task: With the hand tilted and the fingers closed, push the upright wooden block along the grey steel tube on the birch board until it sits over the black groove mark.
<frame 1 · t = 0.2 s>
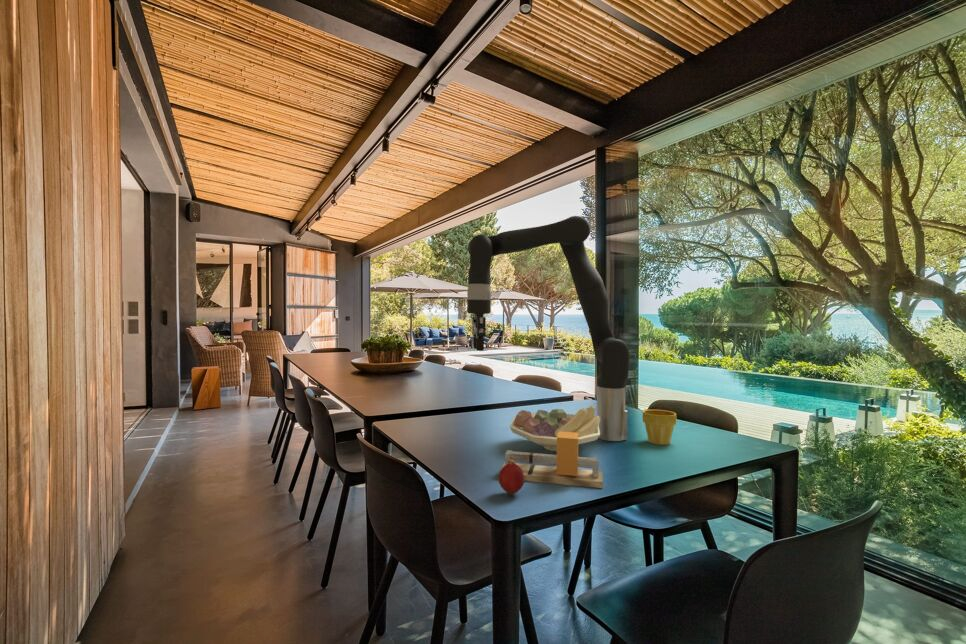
hand: (478, 349, 147), 29 cm above the table, tool pointing down, fingers open, 8 cm apart
onion: (511, 495, 104), on the table
upright wooden block: (567, 453, 115), point 6 cm above the table, slide at 0.0 cm
pipe: (551, 463, 116), on the board, point 4 cm above the table
dish with food: (554, 448, 142), on the table
board: (551, 477, 116), on the table
plant pot: (658, 442, 150), on the table
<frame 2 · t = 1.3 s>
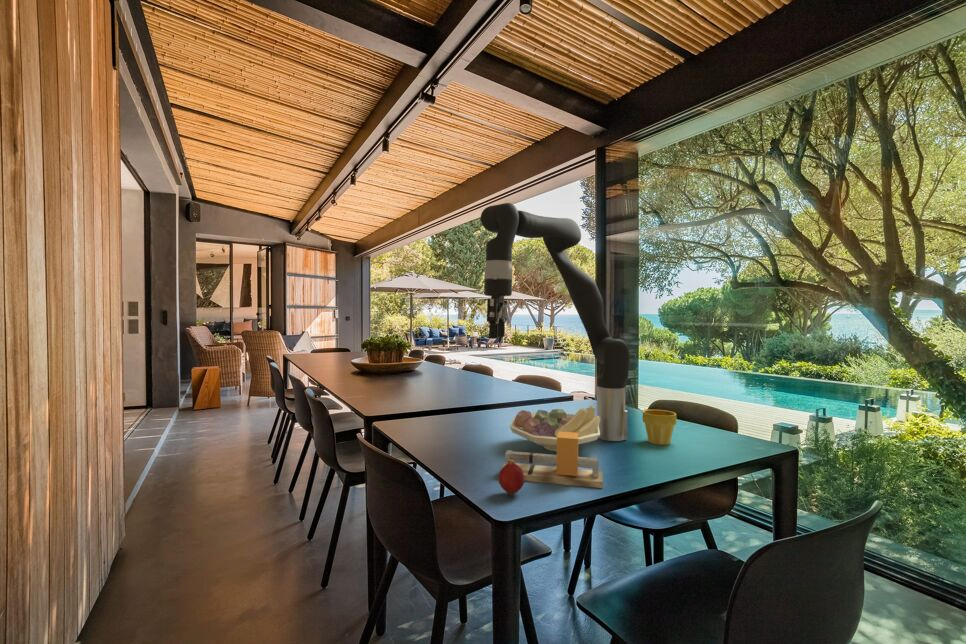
hand: (496, 337, 126), 34 cm above the table, tool pointing down, fingers open, 8 cm apart
nothing on the table moved.
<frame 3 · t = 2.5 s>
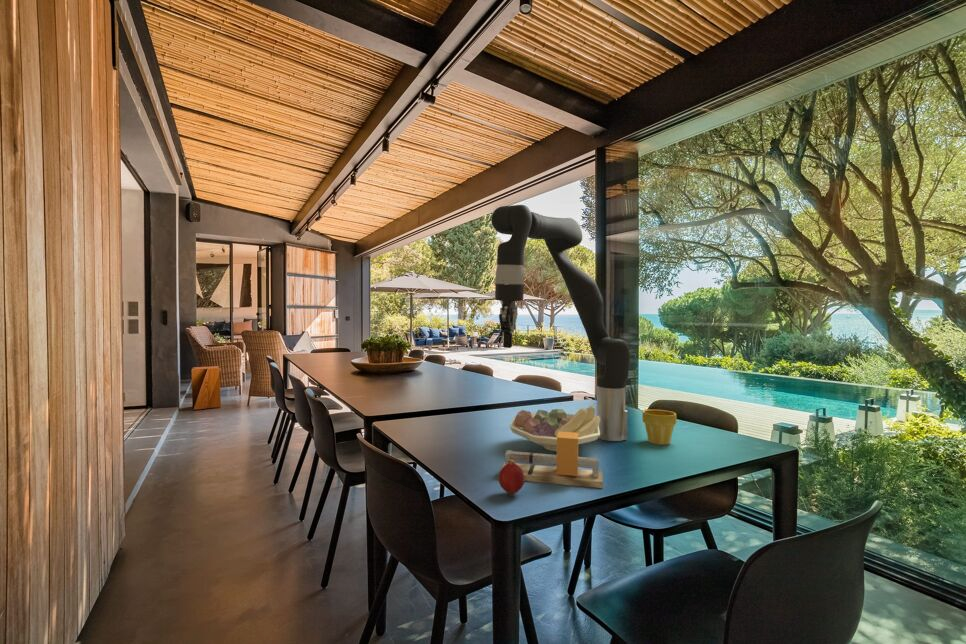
hand: (507, 347, 123), 32 cm above the table, tool pointing down, fingers closed
nothing on the table moved.
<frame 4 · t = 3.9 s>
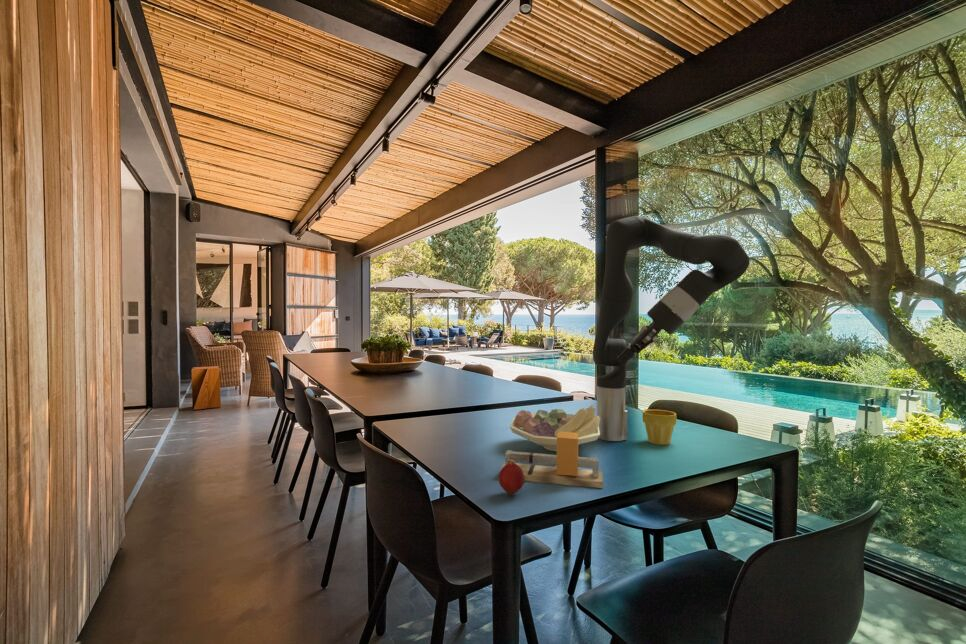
hand: (619, 361, 112), 30 cm above the table, tool tilted 45°, fingers closed
nothing on the table moved.
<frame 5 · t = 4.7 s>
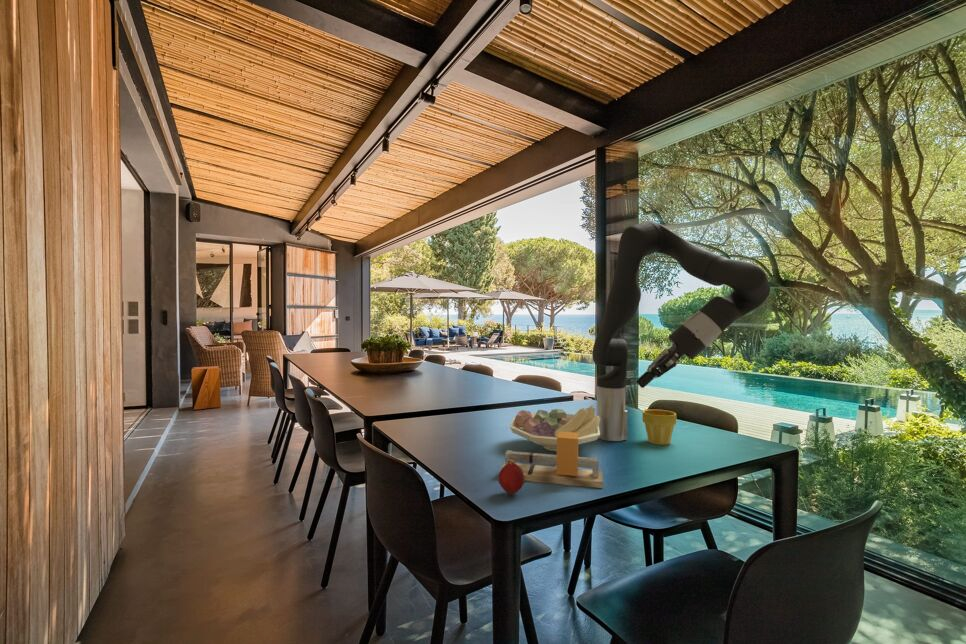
hand: (639, 384, 111), 24 cm above the table, tool tilted 45°, fingers closed
nothing on the table moved.
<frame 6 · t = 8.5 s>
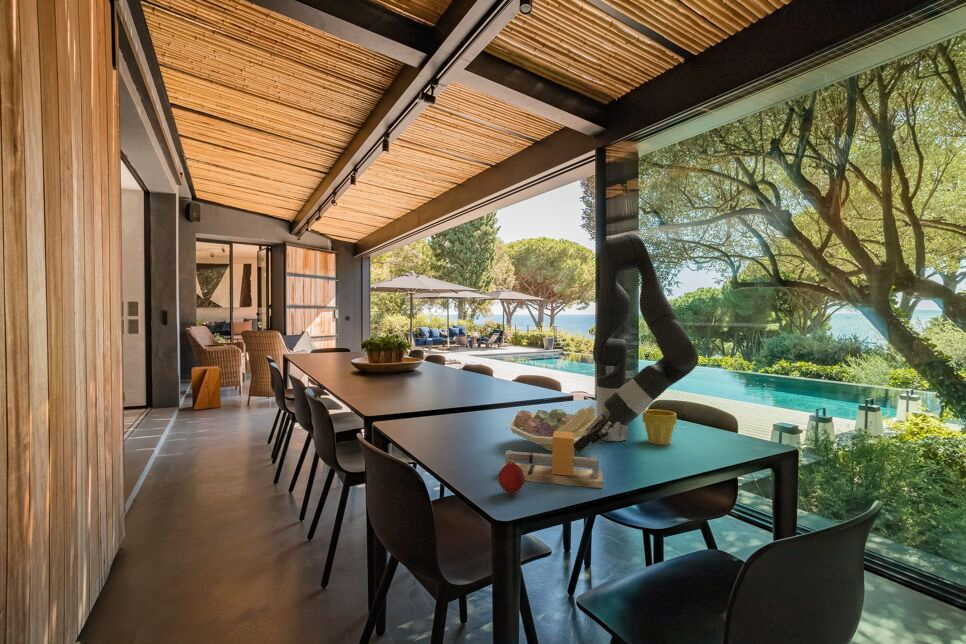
hand: (575, 448, 114), 8 cm above the table, tool tilted 45°, fingers closed
upright wooden block: (563, 452, 115), point 6 cm above the table, slide at 1.1 cm, touching gripper
everything else where it was.
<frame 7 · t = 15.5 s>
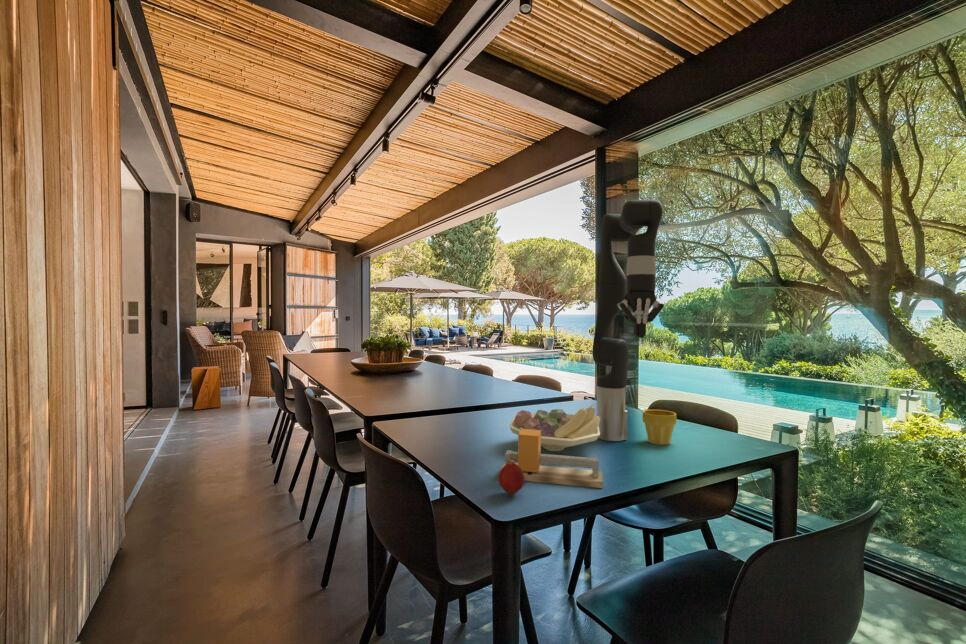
hand: (639, 337, 125), 35 cm above the table, tool pointing down, fingers closed
upright wooden block: (529, 450, 117), point 6 cm above the table, slide at 9.5 cm
everything else where it was.
at the end: upright wooden block slide at 9.5 cm; onion moved 0.2 cm from its start; dish with food moved 0.3 cm from its start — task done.
